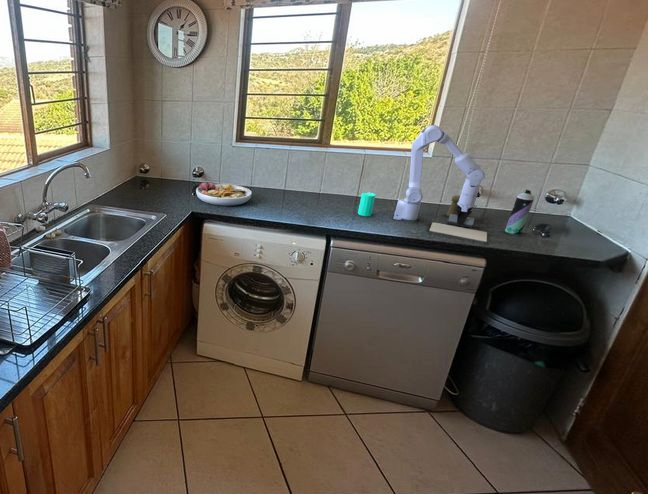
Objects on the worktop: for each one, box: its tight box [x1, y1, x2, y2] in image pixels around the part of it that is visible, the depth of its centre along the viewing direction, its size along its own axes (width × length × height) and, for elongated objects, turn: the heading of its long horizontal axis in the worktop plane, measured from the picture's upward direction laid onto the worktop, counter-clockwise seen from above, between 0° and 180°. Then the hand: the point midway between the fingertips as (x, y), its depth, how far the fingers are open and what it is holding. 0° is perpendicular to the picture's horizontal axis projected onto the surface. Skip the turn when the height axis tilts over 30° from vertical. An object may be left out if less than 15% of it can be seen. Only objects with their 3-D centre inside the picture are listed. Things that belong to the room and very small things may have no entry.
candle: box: [357, 191, 377, 217], centre depth 198 cm, size 6×6×12 cm
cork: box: [445, 194, 460, 217], centre depth 195 cm, size 6×6×11 cm
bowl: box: [195, 181, 253, 207], centre depth 221 cm, size 30×30×8 cm
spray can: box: [504, 189, 535, 235], centre depth 173 cm, size 6×6×20 cm
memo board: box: [429, 222, 488, 243], centre depth 177 cm, size 20×14×1 cm
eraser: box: [447, 214, 475, 229], centre depth 184 cm, size 9×4×4 cm, turn 51°
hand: (460, 222), depth 184 cm, fingers closed on eraser, 4 cm apart
